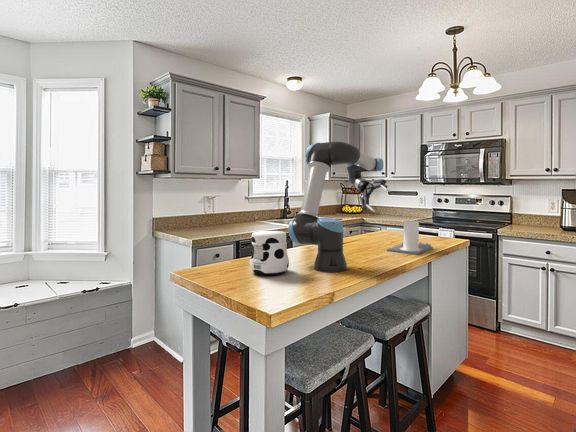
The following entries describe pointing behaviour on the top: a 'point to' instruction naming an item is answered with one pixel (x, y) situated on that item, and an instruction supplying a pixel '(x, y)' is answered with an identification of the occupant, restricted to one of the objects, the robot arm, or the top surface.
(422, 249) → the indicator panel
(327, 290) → the top surface
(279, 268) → the milk container
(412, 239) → the cup
